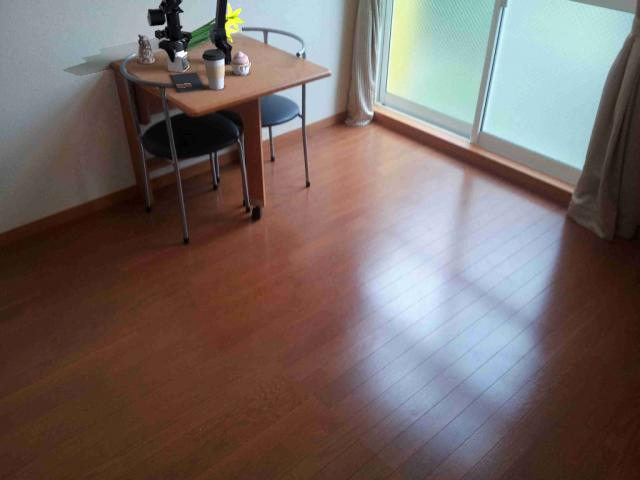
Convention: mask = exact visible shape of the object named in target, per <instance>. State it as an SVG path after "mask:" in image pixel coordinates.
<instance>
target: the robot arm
mask: <svg viewBox="0 0 640 480" xmlns="http://www.w3.org/2000/svg"><path fill="white" fill-rule="evenodd" d="M183 1H184V0H161V1H160V3H159V6H158V8H148V9H147V16H146V18H147V22H148V26H149V27H159V26H164V25H166V26H164V28H163V29H156V30H154V38H156V39H158V40H159V41H158V43H157V45H158V46H157V47H158V50H159V49H160V50H163V51H165V53H166V54H167V55H168V56H169V58H170V60H171V62H172V63H174V60H175V53H176V48H175V43H176V42H181V43H183V49H184V52H187V51H186V49H188V48H187V46H188V44H189V42H190V39H192V34H191V33H190V32H191V31H185V30H182V29H183V24H181V17H180V14H184V13H185V11H184V9H182V8H181V7H180V5H181V4H182V3H183ZM227 11H228V0H216V8H215V17H214V18H215V21H214V23H215V26H214V28H213V29H211V28H210V36H209V37H208V38H210V42H211V44H212V45H214V47H215V49H219V50H222V51H223V53H224V54H225V58H224V63H225V66H227V65H230V64H231V63H230V62H232V59H233V58H232V51H233V46H232V45H231V44H230V43H228V39H227V35H226V30H225V21H226V15H227ZM187 39H188V40H187ZM160 40H161V41H160Z"/></svg>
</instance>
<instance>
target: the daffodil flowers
mask: <svg viewBox="0 0 640 480" xmlns="http://www.w3.org/2000/svg"><path fill="white" fill-rule="evenodd" d="M242 9H243V7H239V8H237V9H236V10H234V11H233V9H232V7H231V4H230V2H227V13H228V14H226V21H225V30H226V35H227V40H228V41H229V42H231V43H233V37H232V36H231V34H234V33H237V32H239V31H240V29H239V25H238V24H246V21H245V20H243V19H242V18H240V17H238V16H239V15H240V13H241V12H242ZM214 26H215V17H214V18H213V19H212V20H210V21H208V22H207V23H205V24H203V25H201V26H200V27H198V28H196V29H194V30H192V31H189V32H190V33H191V34H192V39H190V42H189V44H188V46H187V49H186V52H188V51H189V50H191V49H194V48H196V47H198V46H200V45H201V44H204V43H205V42H211V40H210V38H209V36H210V28H211V29H213V28H214ZM231 26H233V28H234V29H233V28H231ZM187 40H188V39H187Z"/></svg>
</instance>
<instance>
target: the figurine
mask: <svg viewBox="0 0 640 480" xmlns="http://www.w3.org/2000/svg"><path fill="white" fill-rule="evenodd" d="M137 37H138V38H139V39H138V40H137V42H138V51H137V57H138V62H139V63H140V64H142V65H144V64H145V65H147V64H152V63H155V61H156V59H155V55H154V52H153V45H152V44H151V42H150V39H149V37H148V36H147V35H145V34H142V35H141V34H140V33H139V34H137Z"/></svg>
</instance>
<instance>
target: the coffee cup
mask: <svg viewBox="0 0 640 480" xmlns="http://www.w3.org/2000/svg"><path fill="white" fill-rule="evenodd" d="M201 58H202V59H203V61H204V69H205V73H206V77H207V82H208V86H209V89H210V90H213V91H220V90H222V89H224V87H225V86H224V85H225V68H226V67H225V66H226V65H225V63H224V58H225V54H224V53H223V51H222V50H219V49H218V48H210V49H206V50H204V51H203V53H202V56H201Z"/></svg>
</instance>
